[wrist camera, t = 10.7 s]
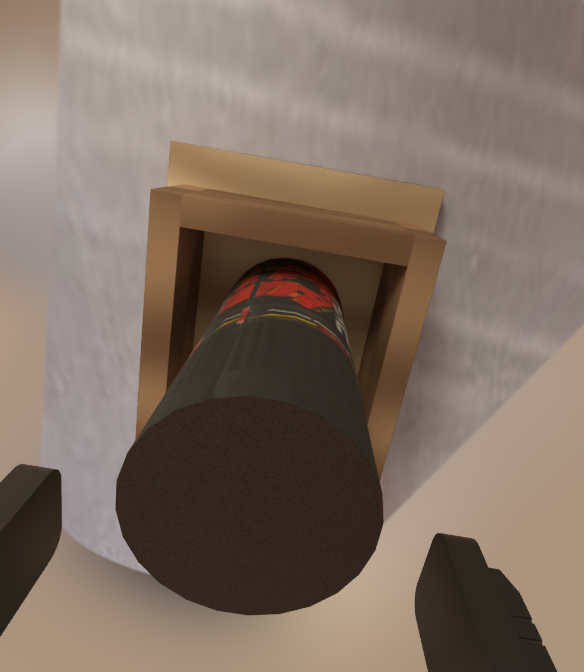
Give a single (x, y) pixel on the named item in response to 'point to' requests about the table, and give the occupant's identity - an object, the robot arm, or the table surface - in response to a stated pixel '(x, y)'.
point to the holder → (297, 243)
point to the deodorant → (258, 455)
